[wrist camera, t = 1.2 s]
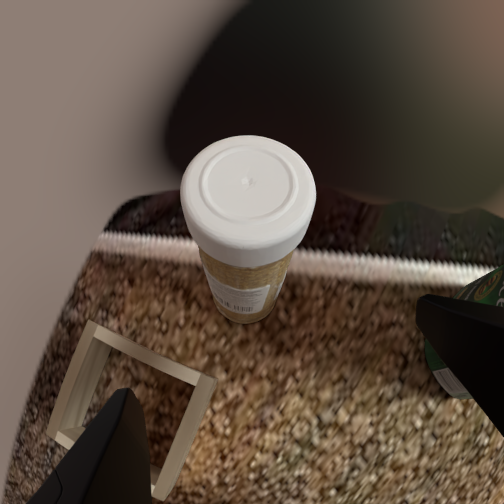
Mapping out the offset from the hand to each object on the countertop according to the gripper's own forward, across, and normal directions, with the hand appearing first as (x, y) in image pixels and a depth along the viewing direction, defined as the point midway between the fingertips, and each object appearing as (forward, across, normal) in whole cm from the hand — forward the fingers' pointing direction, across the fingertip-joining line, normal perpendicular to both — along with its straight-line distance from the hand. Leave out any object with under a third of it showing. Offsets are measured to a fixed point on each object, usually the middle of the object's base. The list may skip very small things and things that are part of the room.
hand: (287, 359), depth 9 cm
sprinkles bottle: (+14, 0, +5) cm, 14 cm away
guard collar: (+9, +9, +9) cm, 16 cm away
